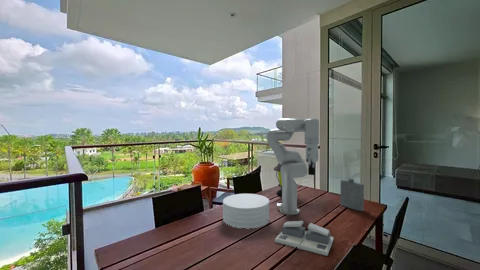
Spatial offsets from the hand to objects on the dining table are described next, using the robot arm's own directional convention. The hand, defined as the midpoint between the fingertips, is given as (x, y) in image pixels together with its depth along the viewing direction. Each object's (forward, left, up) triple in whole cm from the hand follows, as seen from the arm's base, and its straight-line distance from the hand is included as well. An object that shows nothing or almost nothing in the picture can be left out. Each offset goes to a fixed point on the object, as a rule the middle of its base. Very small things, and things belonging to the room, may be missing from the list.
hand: (311, 174), depth 127 cm
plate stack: (-37, -8, -30) cm, 48 cm away
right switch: (+7, -16, -23) cm, 29 cm away
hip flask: (+16, +44, -29) cm, 55 cm away
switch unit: (+1, -18, -29) cm, 34 cm away
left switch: (-5, -16, -23) cm, 29 cm away
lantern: (-33, +51, -29) cm, 67 cm away
